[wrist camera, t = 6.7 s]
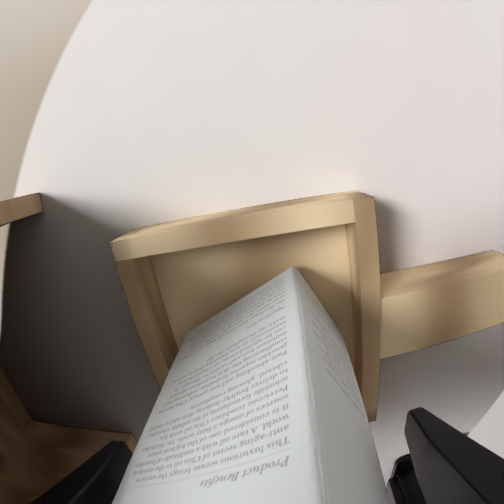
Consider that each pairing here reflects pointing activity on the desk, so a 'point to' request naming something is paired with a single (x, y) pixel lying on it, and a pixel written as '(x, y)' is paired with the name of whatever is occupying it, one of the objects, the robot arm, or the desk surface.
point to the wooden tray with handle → (312, 270)
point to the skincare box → (259, 412)
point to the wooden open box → (34, 432)
